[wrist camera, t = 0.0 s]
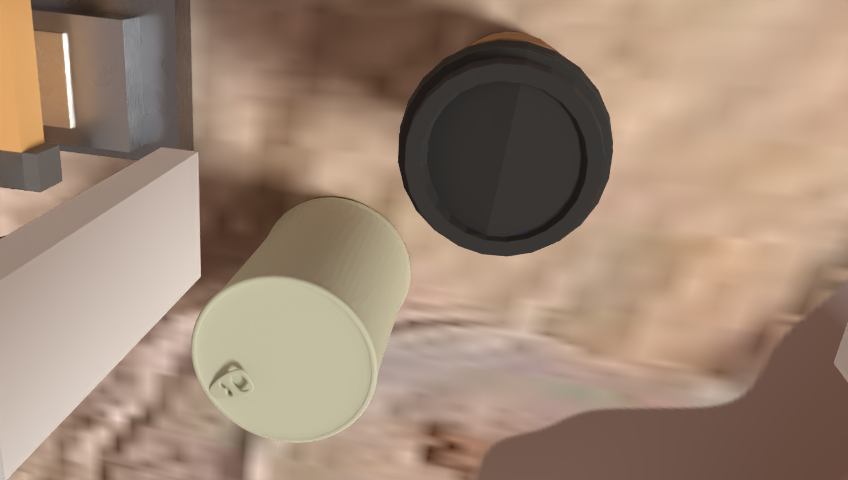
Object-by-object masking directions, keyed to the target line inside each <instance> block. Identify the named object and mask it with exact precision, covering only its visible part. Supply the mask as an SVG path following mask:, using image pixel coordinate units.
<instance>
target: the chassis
mask: <svg viewBox="0 0 848 480" xmlns="http://www.w3.org/2000/svg"><path fill="white" fill-rule="evenodd" d="M31 10H32V20H33V30H34V40H35V50H36V61H37V71H38V81H39V91H40V101H41V111H42V122H43V132H44V142H45V143H49V144H57V145H59V149H60V151H68V152H75V153H83V154H91V155H99V156H107V157H115V158H123V159H131V160H140V159H142V158H143V157H145V156H147V155H149V154H150V153H152V152H154V151H156V150H157V149H159V148H161V147H164V148H172V149H180V150H188V151H193V117H192V73H191V28H190V0H31Z"/></svg>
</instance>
